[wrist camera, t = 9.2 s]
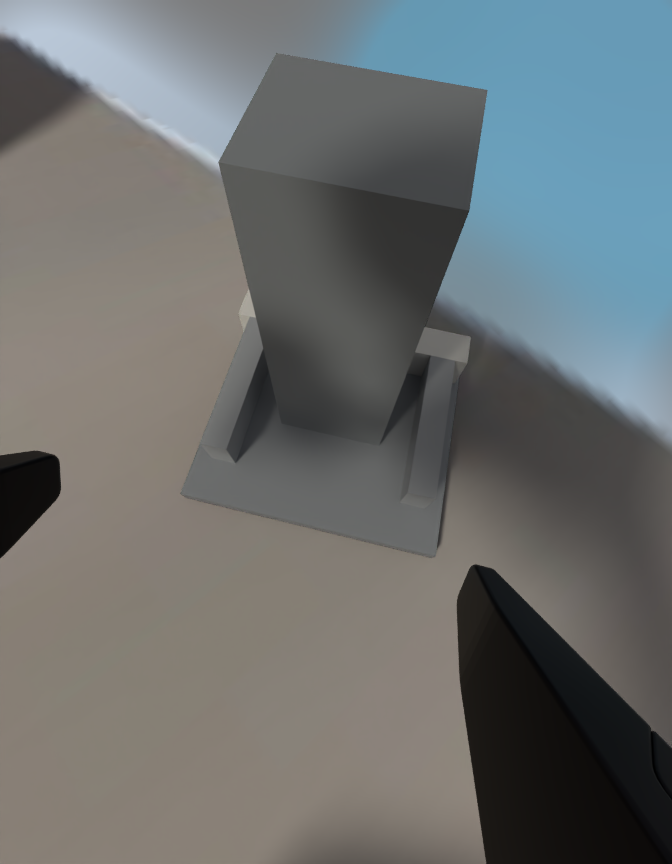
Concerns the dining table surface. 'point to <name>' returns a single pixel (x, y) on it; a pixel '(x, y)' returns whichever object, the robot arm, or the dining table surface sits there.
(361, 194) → the block
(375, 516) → the rail plate
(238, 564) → the dining table surface
